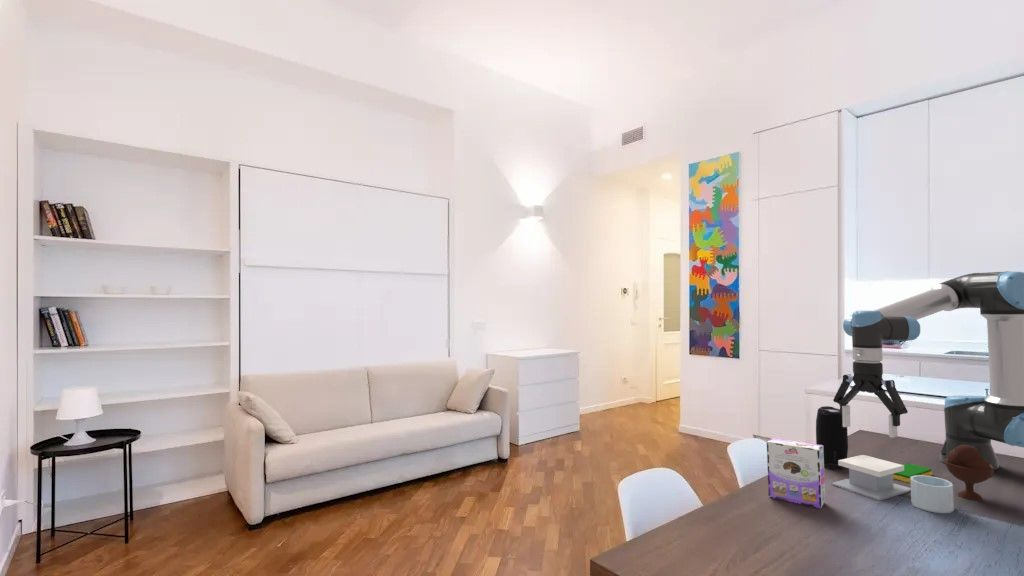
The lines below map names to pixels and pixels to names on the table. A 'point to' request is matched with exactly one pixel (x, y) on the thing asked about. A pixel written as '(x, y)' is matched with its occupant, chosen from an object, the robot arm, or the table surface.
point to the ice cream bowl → (968, 469)
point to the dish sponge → (911, 472)
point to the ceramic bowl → (932, 494)
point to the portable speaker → (831, 436)
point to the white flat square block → (871, 465)
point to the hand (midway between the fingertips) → (869, 431)
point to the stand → (871, 485)
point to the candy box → (796, 472)
